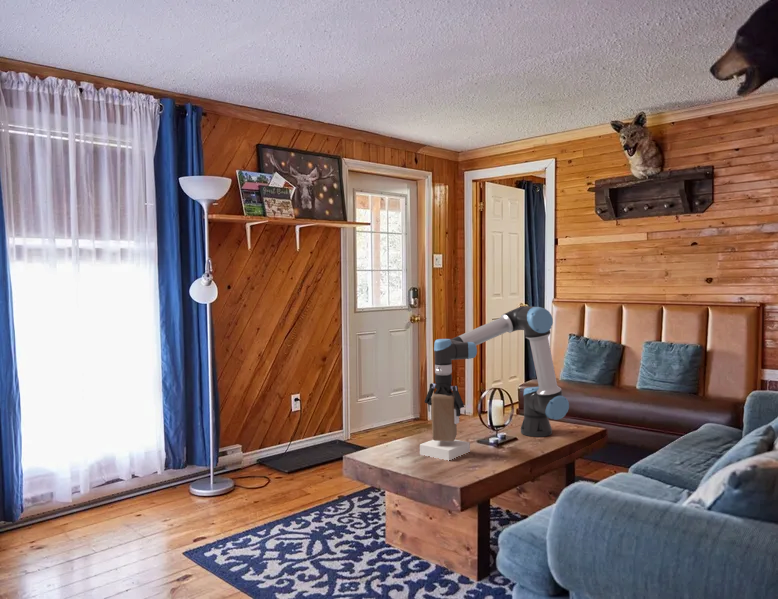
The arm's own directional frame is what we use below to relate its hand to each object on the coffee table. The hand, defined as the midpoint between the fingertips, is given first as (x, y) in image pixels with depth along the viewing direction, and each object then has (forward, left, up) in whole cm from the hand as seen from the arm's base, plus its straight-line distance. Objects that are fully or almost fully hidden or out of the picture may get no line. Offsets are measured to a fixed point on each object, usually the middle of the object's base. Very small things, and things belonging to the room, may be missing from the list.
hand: (444, 421), depth 273 cm
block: (0, 0, -8) cm, 8 cm away
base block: (0, 0, -15) cm, 15 cm away
